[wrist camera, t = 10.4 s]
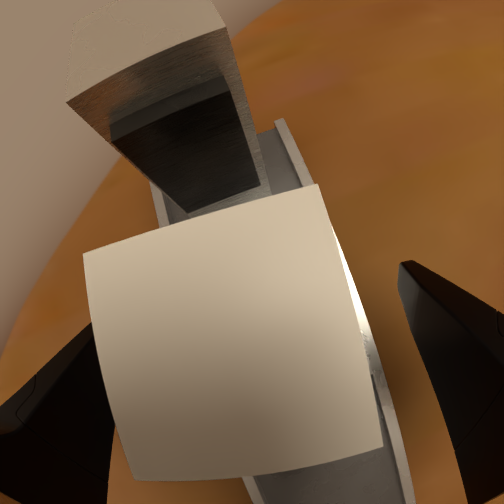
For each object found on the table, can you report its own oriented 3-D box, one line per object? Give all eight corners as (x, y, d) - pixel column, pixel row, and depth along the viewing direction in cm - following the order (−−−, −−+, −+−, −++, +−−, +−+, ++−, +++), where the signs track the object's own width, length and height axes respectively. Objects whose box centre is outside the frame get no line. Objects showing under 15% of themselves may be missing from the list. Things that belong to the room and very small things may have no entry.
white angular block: (324, 353, 16) (383, 446, 4) (249, 371, 16) (134, 480, 4) (302, 268, 17) (305, 149, 5) (229, 287, 17) (80, 222, 5)
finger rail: (408, 491, 14) (491, 630, 1) (277, 531, 15) (241, 690, 1) (286, 137, 20) (258, -60, 7) (160, 185, 21) (20, 49, 7)
